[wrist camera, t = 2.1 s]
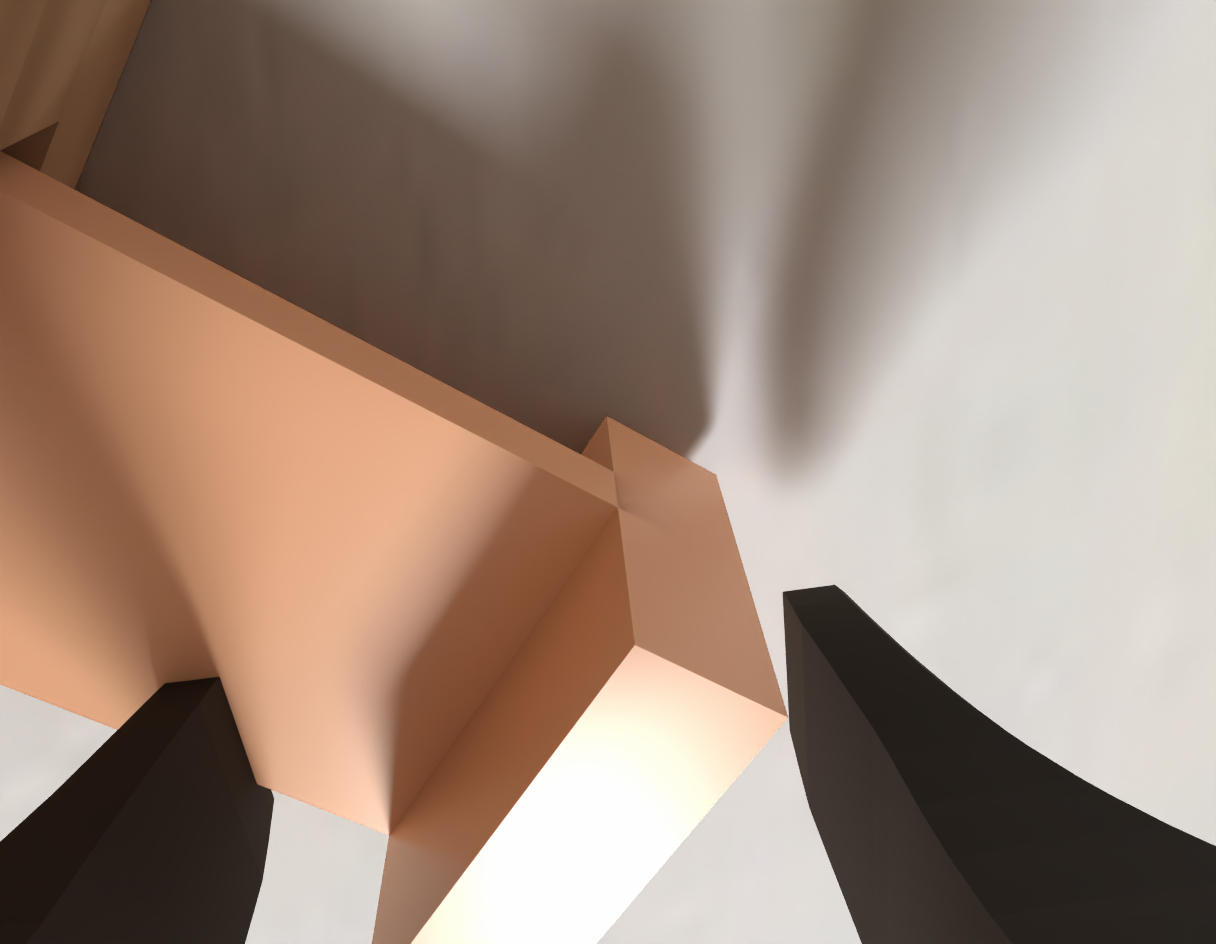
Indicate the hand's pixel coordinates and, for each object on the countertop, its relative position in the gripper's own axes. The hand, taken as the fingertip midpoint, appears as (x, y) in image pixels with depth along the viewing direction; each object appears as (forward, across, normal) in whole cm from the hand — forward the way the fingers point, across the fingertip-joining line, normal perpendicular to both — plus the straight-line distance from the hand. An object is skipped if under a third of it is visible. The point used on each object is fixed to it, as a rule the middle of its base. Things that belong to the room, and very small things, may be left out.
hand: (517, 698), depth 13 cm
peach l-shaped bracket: (+2, +4, -4) cm, 6 cm away
